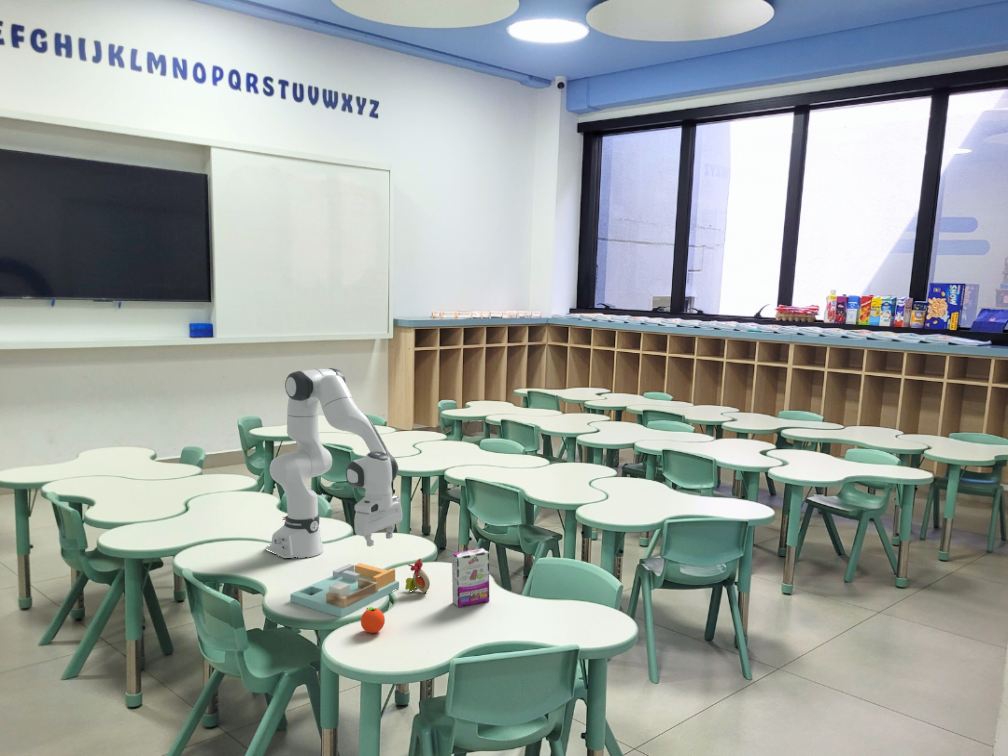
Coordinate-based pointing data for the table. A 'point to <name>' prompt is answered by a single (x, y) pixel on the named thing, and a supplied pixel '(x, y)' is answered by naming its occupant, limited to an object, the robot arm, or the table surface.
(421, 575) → the bird rattle
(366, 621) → the clementine
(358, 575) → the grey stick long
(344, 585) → the cube
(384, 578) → the rake
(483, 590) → the candy bar box
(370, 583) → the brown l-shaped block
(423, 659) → the table surface
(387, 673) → the table surface
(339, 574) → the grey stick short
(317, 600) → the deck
